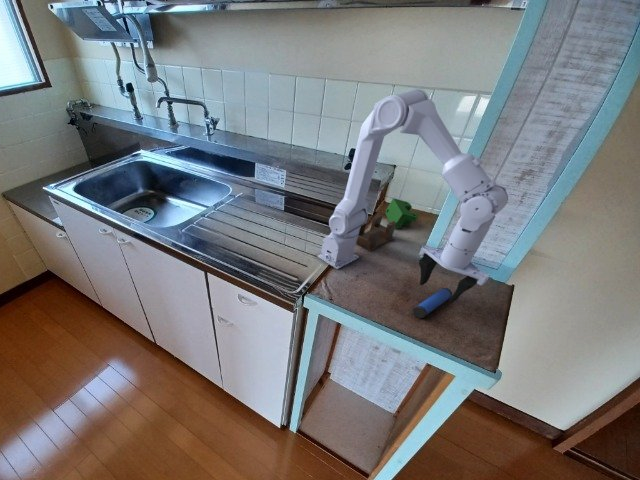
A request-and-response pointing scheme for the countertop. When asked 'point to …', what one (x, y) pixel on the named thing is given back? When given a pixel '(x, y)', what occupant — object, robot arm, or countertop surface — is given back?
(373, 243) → the holder
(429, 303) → the handle
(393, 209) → the clamp
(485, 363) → the countertop surface
